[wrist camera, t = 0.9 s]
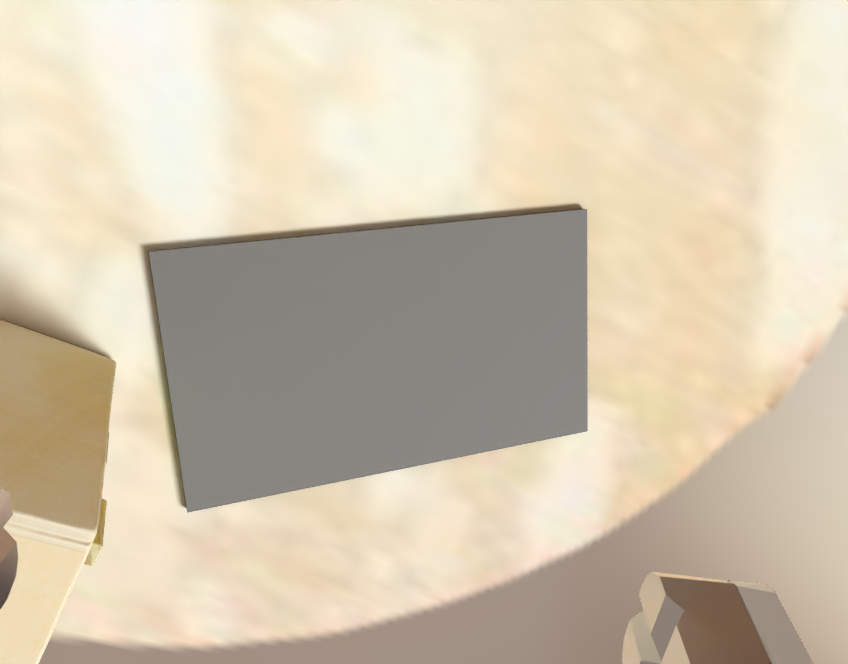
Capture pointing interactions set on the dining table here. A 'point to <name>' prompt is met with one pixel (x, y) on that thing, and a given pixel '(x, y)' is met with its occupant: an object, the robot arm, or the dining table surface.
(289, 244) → the mat
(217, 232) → the dining table surface
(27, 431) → the wooden rectangular block
